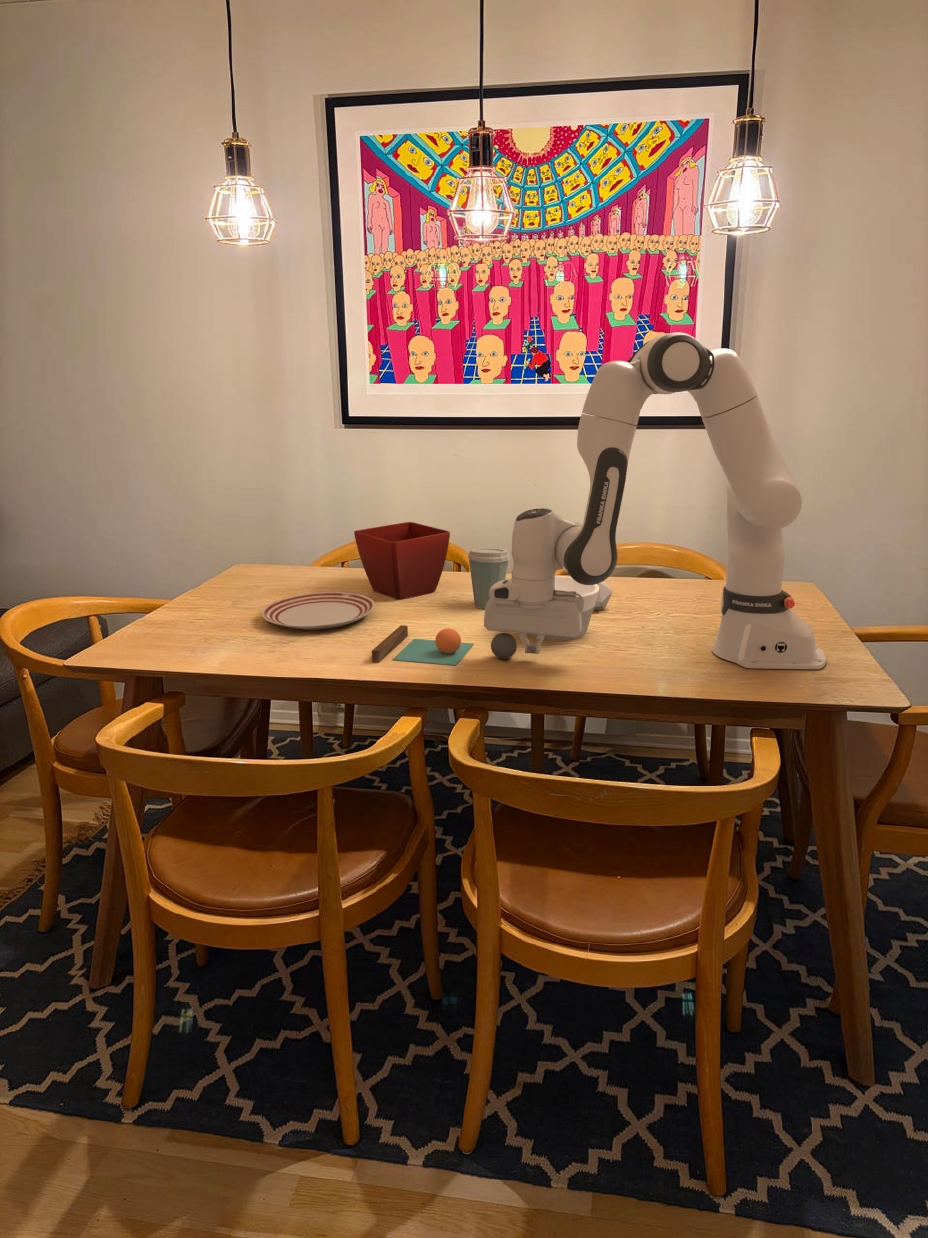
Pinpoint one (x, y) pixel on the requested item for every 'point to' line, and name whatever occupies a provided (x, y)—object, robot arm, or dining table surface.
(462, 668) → the dining table surface
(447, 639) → the ball
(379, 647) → the rail
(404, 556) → the plant pot
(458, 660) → the mark
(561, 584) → the bowl
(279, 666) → the dining table surface
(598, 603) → the die
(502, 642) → the ball
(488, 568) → the disposable coffee cup
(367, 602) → the dinner plate
